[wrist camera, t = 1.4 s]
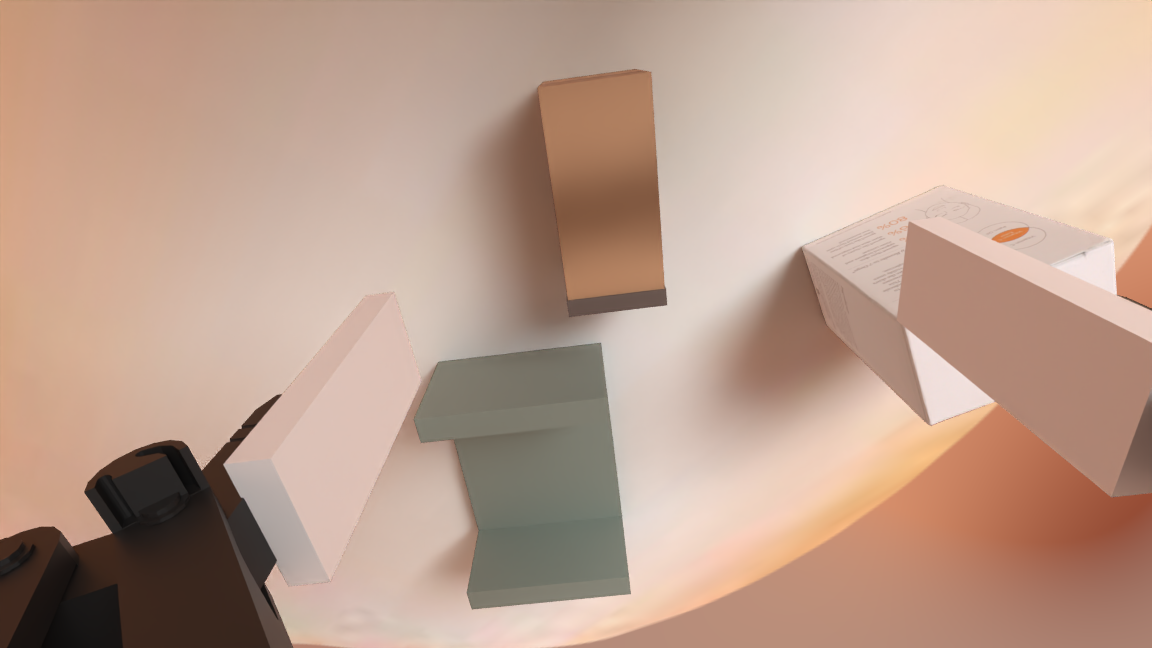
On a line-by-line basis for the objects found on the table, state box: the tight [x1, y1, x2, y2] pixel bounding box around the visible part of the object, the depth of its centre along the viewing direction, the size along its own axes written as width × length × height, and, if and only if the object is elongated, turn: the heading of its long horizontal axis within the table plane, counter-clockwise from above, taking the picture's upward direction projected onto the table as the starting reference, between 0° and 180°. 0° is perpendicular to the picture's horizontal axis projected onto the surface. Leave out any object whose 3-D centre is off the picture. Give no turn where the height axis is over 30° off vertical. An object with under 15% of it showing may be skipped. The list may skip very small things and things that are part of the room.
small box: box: [802, 185, 1117, 426], centre depth 27 cm, size 8×6×10 cm
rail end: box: [537, 69, 667, 317], centre depth 27 cm, size 10×5×6 cm, turn 7°
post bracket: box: [414, 343, 631, 609], centre depth 34 cm, size 14×10×6 cm
